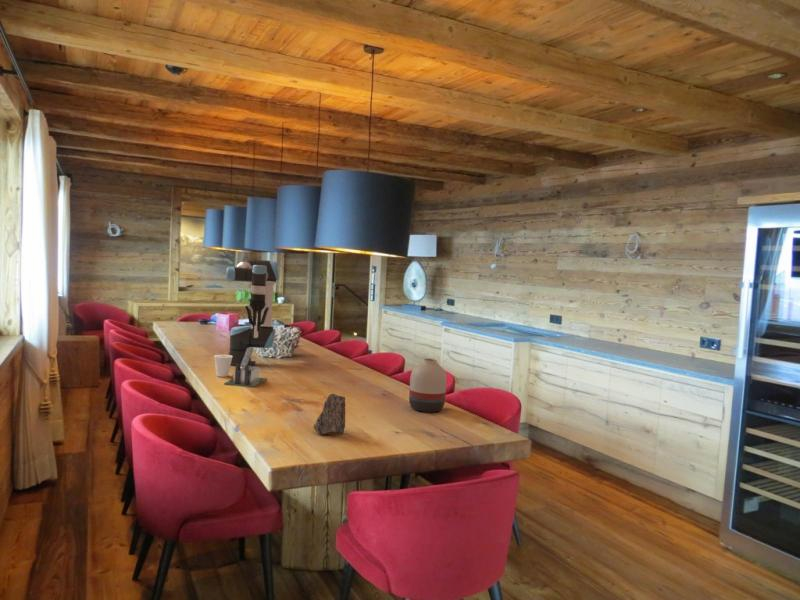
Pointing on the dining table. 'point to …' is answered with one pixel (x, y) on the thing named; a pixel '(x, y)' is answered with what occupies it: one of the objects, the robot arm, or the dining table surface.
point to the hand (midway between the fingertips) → (255, 337)
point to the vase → (427, 386)
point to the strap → (246, 358)
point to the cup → (222, 365)
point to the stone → (331, 416)
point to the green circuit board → (246, 376)
